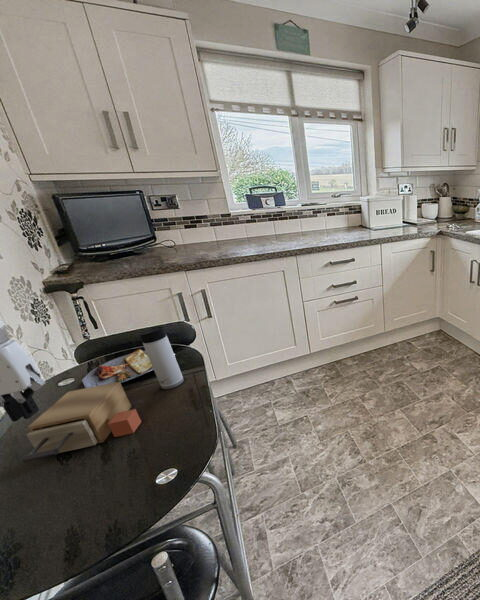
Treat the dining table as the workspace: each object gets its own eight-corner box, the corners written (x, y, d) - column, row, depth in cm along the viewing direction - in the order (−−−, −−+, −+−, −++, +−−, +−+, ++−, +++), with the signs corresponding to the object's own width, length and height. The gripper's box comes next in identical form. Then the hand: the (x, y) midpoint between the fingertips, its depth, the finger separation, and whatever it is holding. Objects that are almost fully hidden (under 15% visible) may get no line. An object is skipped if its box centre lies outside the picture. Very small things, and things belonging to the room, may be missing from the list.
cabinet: (103, 442, 83) (88, 414, 80) (44, 455, 80) (26, 427, 77) (131, 406, 96) (119, 381, 93) (81, 416, 94) (68, 391, 91)
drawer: (77, 466, 75) (63, 443, 72) (17, 480, 73) (1, 456, 70) (123, 410, 93) (113, 390, 91) (76, 420, 91) (65, 399, 88)
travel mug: (164, 392, 102) (140, 335, 94) (159, 385, 106) (136, 330, 99) (186, 382, 106) (165, 327, 99) (180, 375, 110) (160, 322, 103)
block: (133, 433, 85) (127, 419, 84) (114, 437, 85) (107, 423, 83) (141, 421, 89) (135, 408, 88) (123, 425, 89) (116, 412, 87)
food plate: (80, 376, 116) (76, 367, 114) (156, 348, 132) (153, 340, 130) (92, 402, 100) (87, 393, 99) (177, 367, 116) (173, 358, 115)
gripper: (-91, 359, 60) (-35, 437, 66) (12, 342, 63) (56, 418, 69) (-50, 340, 66) (-2, 413, 73) (41, 326, 70) (79, 397, 76)
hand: (26, 415), depth 71 cm, fingers closed
